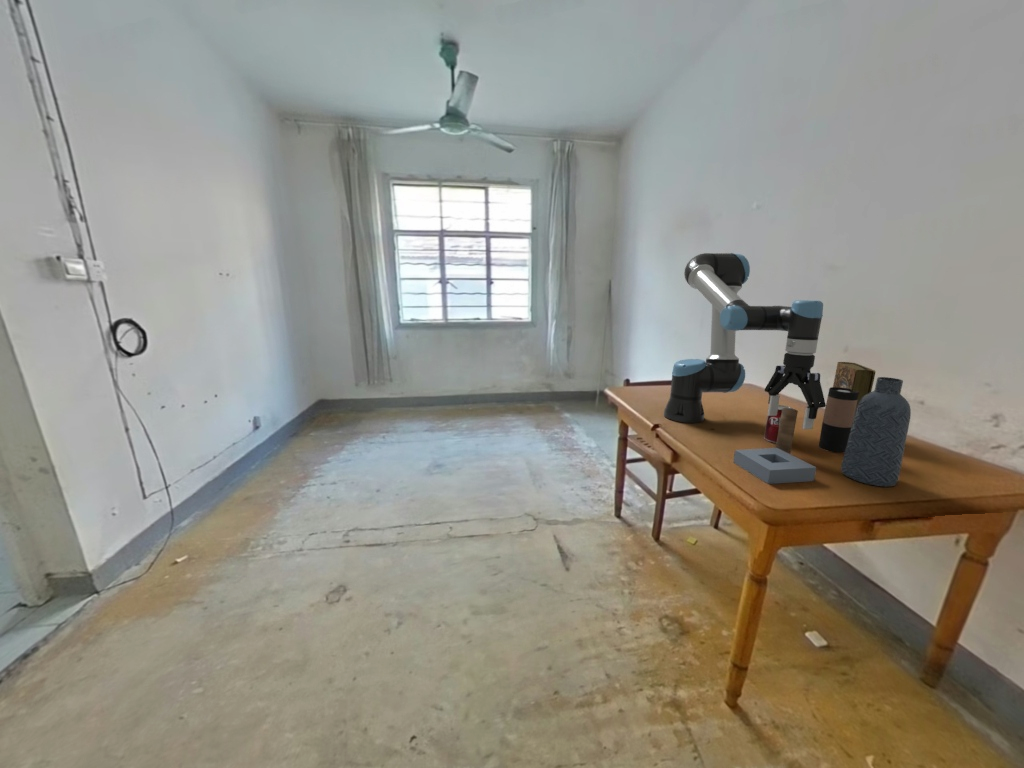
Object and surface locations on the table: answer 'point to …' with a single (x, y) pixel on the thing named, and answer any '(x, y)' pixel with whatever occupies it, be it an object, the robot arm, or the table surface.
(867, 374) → the book
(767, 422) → the soda can
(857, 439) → the vase
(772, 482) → the socket block
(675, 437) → the table surface
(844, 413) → the travel mug
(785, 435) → the peg
